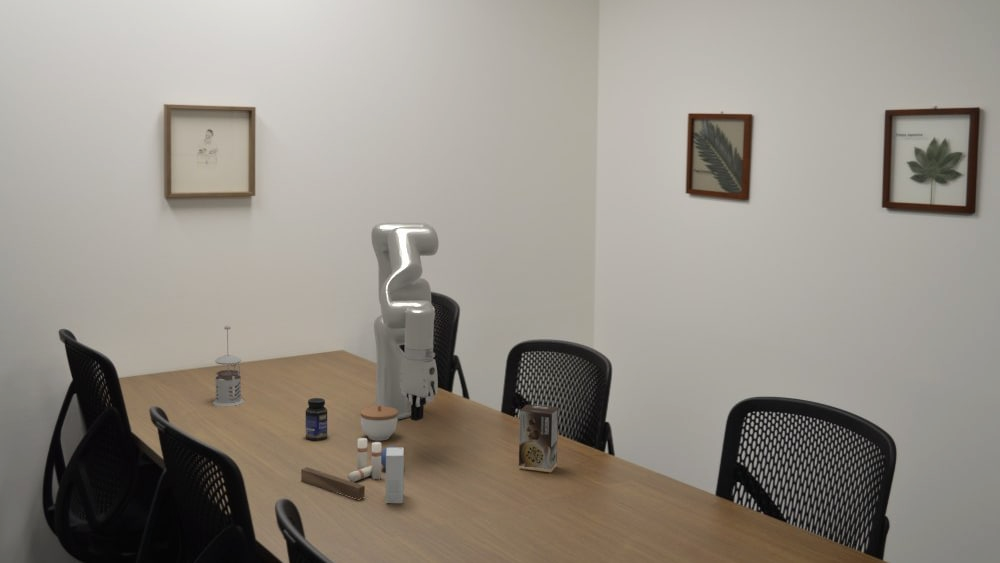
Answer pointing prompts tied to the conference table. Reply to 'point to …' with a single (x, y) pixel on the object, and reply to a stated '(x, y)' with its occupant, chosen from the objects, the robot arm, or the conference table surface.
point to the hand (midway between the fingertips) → (417, 419)
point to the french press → (228, 381)
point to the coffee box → (538, 436)
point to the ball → (383, 456)
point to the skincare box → (394, 475)
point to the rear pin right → (362, 453)
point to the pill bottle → (316, 419)
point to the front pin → (360, 474)
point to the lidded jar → (379, 422)
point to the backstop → (332, 483)
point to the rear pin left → (376, 460)
